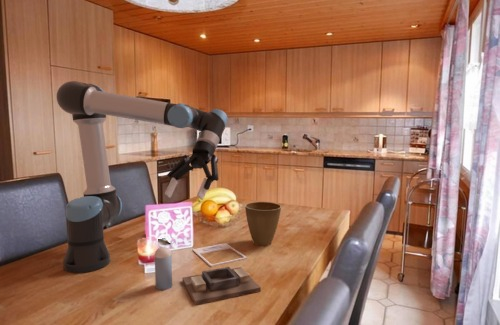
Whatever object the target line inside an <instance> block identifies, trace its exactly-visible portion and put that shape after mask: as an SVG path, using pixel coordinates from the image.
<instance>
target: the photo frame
mask: <svg viewBox="0 0 500 325" xmlns="http://www.w3.org/2000/svg"><path fill="white" fill-rule="evenodd" d="M229 249H230V250H232V251H233V252H235V253H236V254H238V255H239V256H241V257H239V258H235V259H231V260H226V261H221V262H217V263H211V262H210V261H208V259H206V258H205V257H204V256H203V255H204V254H208V253H214V252H220V251H225V250H229ZM192 252H194V253H195V254H196V255H197V256H198V257H200V259H201V260H202V261H204V262H205V263H206V264H207V265H208V266H209V267H211V268H213V267H217V266H221V265H226V264H230V263H234V262H239V261H244V260H248V256H246V255H244V254H243V253H241V252H240V251H238V250H237V249H235V248H234V247H232V246H231V245H229V244H228V243H226V242H225V243H219V244H214V245H208V246H202V247H198V248H193V249H192Z"/></svg>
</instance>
